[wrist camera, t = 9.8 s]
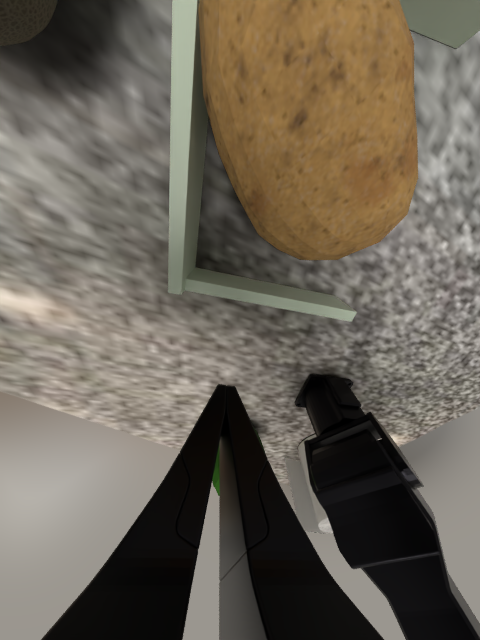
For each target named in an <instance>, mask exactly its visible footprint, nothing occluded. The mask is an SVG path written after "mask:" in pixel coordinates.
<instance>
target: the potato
mask: <svg viewBox="0 0 480 640" xmlns="http://www.w3.org/2000/svg"><path fill="white" fill-rule="evenodd" d="M198 12H199V30H200V48H201V66H202V84H203V96H204V100H205V104H206V108H207V112H208V115H209V119H210V123H211V127H212V131H213V134H214V138H215V142H216V146H217V149H218V153H219V155H220V158H221V160H222V162H223V165H224V167H225V170H226V172H227V174H228V177H229V179H230V181H231V184H232V186H233V188H234V190H235V192H236V194H237V196H238V198H239V200H240V202H241V204H242V206H243V208H244V210H245V212H246V213H247V215H248V217H249V219H250V220H251V222H252V224H253V226H254V228H255V229H256V231H257V233H258V235H260V236H261V237H262V238H263V239H265V240H266V241H267V242H269V243H270V244H271V245H273V246H274V247H275V248H277V249H278V250H280V251H282V252H285V253H287V254H289V255H291V256H293V257H295V258H298V259H300V260H338V259H340V258H342V257H345V256H347V255H349V254H352V253H354V252H356V251H359V250H361V249H364V248H366V247H369V246H371V245H373V244H376V243H378V242H380V241H381V240H382V239H383V238H384V237H385V236H386V235H387V234H388V233H389V232H390V231H391V230H392V229H393V228H394V227H395V226H396V225H397V224H398V223H399V222H400V221H401V220H402V219H403V218H404V217H405V216H406V215H407V213H408V210H409V206H410V203H411V199H412V196H413V192H414V189H415V186H416V182H417V179H418V153H417V127H416V113H415V100H414V42H413V39H412V36H411V33H410V30H409V27H408V24H407V21H406V19H405V16H404V13H403V10H402V7H401V4H400V1H399V0H200V2H199V9H198Z"/></svg>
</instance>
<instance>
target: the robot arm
mask: <svg viewBox="0 0 480 640" xmlns="http://www.w3.org/2000/svg"><path fill="white" fill-rule="evenodd" d="M352 385H353V382H352V381H351V380H349V379H342V378H335V377H329V376H322V375H315V374H312V375H310V376H309V377H308V379H307V381H306V383H305V385H304V386H303V388H302V390H301V392H300V394H299V396H298V397H297V399H296V401H295V404H296V406H297V407H305V408H306V410H307V413H308V415H309V418H310V421H311V423H312V426H313V429H314V431H315V434H316V437H314V438H312V439H310V440H305V441H304V445H305V454H306V461H307V467H308V474H309V480H310V485H311V487H312V491H313V493H314V494H315V495H316V498H317V500H318V501H319V503H320V505H321V506H322V508H323V509H324V510H325V512H326V515H327V517H328V520H329V522H330V525H331V528H332V531H333V534H334V537H335V540H336V543H337V546H338V548H339V550H340V552H341V554H342V555H343V557H344V558H345V560H346V561H347V563H348V564H349V565H350V567H351V568H353V569H357V568H361V569H362V570H363V571H364V572H365V573H366V574H367V576H368V577H369V578H370V579H371V581H372V582H373V583H374V584H375V585H376V586H377V587H378V589H379V590H380V591H381V592H382V593H383V595H384V596H385V597H386V598H387V600H388V602H389V604H390V606H391V608H392V610H393V612H394V614H395V617H396V618H397V621H398V623H399V625H400V628H401V630H402V632H403V634H404V636H405V639H406V640H480V623H479V622H478V620H477V619H476V617H475V615H474V614H473V612H472V611H471V609H470V607H469V606H468V604H467V603H466V601H465V599H464V598H463V596H462V595H461V593H460V591H459V590H458V588H457V587H456V585H455V583H454V582H453V580H452V579H451V577H450V575H449V574H448V571H447V568H446V563H445V559H444V555H443V551H442V547H441V542H440V538H439V534H438V530H437V525H436V521H435V517H434V514H433V512H432V510H431V509H430V507H429V506H428V504H427V503H426V501H425V500H424V498H423V497H422V495H421V494H420V492H419V491H418V490H417V488H420V487H423V484H422V482H421V481H420V479H419V478H418V476H417V475H416V473H415V472H414V470H413V468H412V467H411V465H410V464H409V462H408V461H407V459H406V458H405V456H404V455H403V453H402V452H401V450H400V449H399V447H398V446H397V445H396V443H395V442H394V441H393V439H392V438H391V436H390V435H389V434H388V432H387V431H386V430H385V428H384V427H383V426H382V425H381V424H380V422H379V421H378V420H377V419H376V418H375V417H374V415H373V414H372V413H371V412H369V413H367V414H366V415H365V414H364V412H363V411H362V409H361V408H360V407H361V404H360V402H359V401H358V399H357V398H356V396H355V395H354V393H353V392H352V391H351V389H350V388H351V386H352ZM380 438H382V439H380ZM378 439H380V440H378ZM219 442H220V567H219V569H220V570H219V572H220V573H219V574H220V575H219V576H220V577H219V579H220V583H219V586H220V588H219V589H220V590H219V612H220V613H219V616H220V617H219V618H220V619H219V621H220V622H219V640H384V639H383V638H382V637H381V636H380V634H379V633H378V632H377V631H376V630H375V628H374V627H373V626H372V625H371V624H370V622H369V621H368V620H367V619H366V618H365V617H364V615H363V614H362V613H361V612H360V611H359V609H358V608H357V607H356V606H355V605H354V603H353V602H352V601H351V600H350V599H349V597H348V596H347V595H346V594H345V593H344V592H343V590H342V589H341V588H340V587H339V585H338V584H337V583H336V581H335V580H334V579H333V577H332V576H331V575H330V573H329V572H328V570H327V569H326V567H325V566H324V564H323V562H322V561H321V559H320V557H319V556H318V554H317V552H316V550H315V549H314V547H313V545H312V543H311V541H310V540H309V538H308V536H307V534H306V532H305V531H304V529H303V527H302V525H301V523H300V522H299V520H298V518H297V516H296V514H295V513H294V511H293V509H292V508H291V505H290V504H289V502H288V500H287V498H286V496H285V494H284V492H283V490H282V489H281V487H280V485H279V482H278V480H277V478H276V476H275V474H274V472H273V470H272V467H271V465H270V463H269V461H267V460H268V459H267V456H266V454H265V452H264V450H263V447H262V445H261V443H260V441H259V439H258V436H257V434H256V432H255V430H254V427H253V425H252V423H251V421H250V418H249V416H248V414H247V412H246V409H245V407H244V405H243V403H242V401H241V398H240V396H239V394H238V392H237V389H236V387H235V386H230V385H227V386H226V385H222V384H218V385H217V387H216V389H215V391H214V392H213V394H212V396H211V398H210V399H209V401H208V403H207V405H206V406H205V408H204V410H203V412H202V414H201V415H200V417H199V419H198V421H197V422H196V424H195V426H194V428H193V430H192V431H191V433H190V435H189V437H188V438H187V440H186V442H185V444H184V446H183V447H182V449H181V451H180V454H178V456H177V458H176V460H175V461H174V463H173V465H172V466H171V468H170V470H169V471H168V473H167V475H166V476H165V478H164V480H163V481H162V483H161V484H160V486H159V487H158V489H157V490H156V492H155V493H154V495H153V496H152V498H151V499H150V501H149V502H148V504H147V505H146V506H145V508H144V509H143V511H142V512H141V514H140V515H139V516H138V518H137V519H136V521H135V522H134V524H133V525H132V526H131V528H130V529H129V531H128V532H127V534H126V535H125V536H124V538H123V539H122V541H121V542H120V544H119V545H118V546H117V548H116V549H115V550H114V552H113V553H112V555H111V556H110V557H109V559H108V560H107V562H106V563H105V564H104V565H103V567H102V568H101V569H100V571H99V572H98V573H97V575H96V576H95V577H94V578H93V580H92V581H91V582H90V584H89V585H88V586H87V587H86V588H85V590H84V591H83V592H82V593H81V594H80V595H79V596H78V598H77V599H76V600H75V601H74V602H73V603H72V604H71V606H70V607H69V608H68V609H67V610H66V611H65V613H64V614H63V615H62V616H61V617H60V618H59V619H58V621H57V622H56V623H55V624H54V625H53V626H52V628H51V629H50V630H49V631H48V632H47V634H46V635H45V636H44V637H43V638H42V639H41V640H182V639H183V633H184V627H185V621H186V615H187V610H188V604H189V598H190V593H191V586H192V581H193V576H194V570H195V565H196V560H197V555H198V549H199V545H200V539H201V534H202V529H203V524H204V519H205V514H206V509H207V504H208V499H209V494H210V488H211V483H212V478H213V473H214V468H215V463H216V458H217V453H218V448H219Z"/></svg>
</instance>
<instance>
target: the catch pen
mask: <svg viewBox="0 0 480 640" xmlns="http://www.w3.org/2000/svg"><path fill="white" fill-rule="evenodd" d="M399 1H400V4H401V7H402V10H403V13H404V16H405V19H406V21H407V24H408V27H409V29H410V30H412V31H415V32H417V33H419V34H422V35H424V36H427V37H429V38H432V39H434V40H436V41H439V42H441V43H444V44H446V45H449V46H451V47H453V48H456V49H457V48H458V47H459V46H461V45H462V44H463V43H464V42H466V41H467V40H468V39H470V38H471V37H472V36H473V35H475V34H476V33H477V32H478V31H480V0H399ZM199 2H200V0H172V64H171V127H170V191H169V255H168V293H173V294H178V295H182V293H183V292H184V291H189V292H195V293H200V294H205V295H211V296H216V297H221V298H227V299H232V300H237V301H243V302H248V303H254V304H259V305H264V306H270V307H275V308H280V309H286V310H291V311H297V312H302V313H307V314H313V315H318V316H323V317H329V318H334V319H339V320H345V321H350V322H352V320H353V318H354V316H355V315H356V313H357V312H356V311H355V310H354V309H352V308H351V307H349V306H348V305H347V304H345V303H344V302H343V301H341V300H340V299H339V298H337V297H336V296H334V295H329V294H324V293H319V292H314V291H309V290H304V289H299V288H294V287H289V286H284V285H280V284H275V283H270V282H265V281H260V280H255V279H250V278H245V277H240V276H235V275H230V274H225V273H220V272H215V271H210V270H205V269H201V268H196V256H197V244H198V233H199V221H200V210H201V199H202V187H203V176H204V164H205V153H206V141H207V130H208V118H209V115H208V112H207V108H206V104H205V100H204V96H203V84H202V66H201V48H200V30H199V12H198V9H199Z"/></svg>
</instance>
